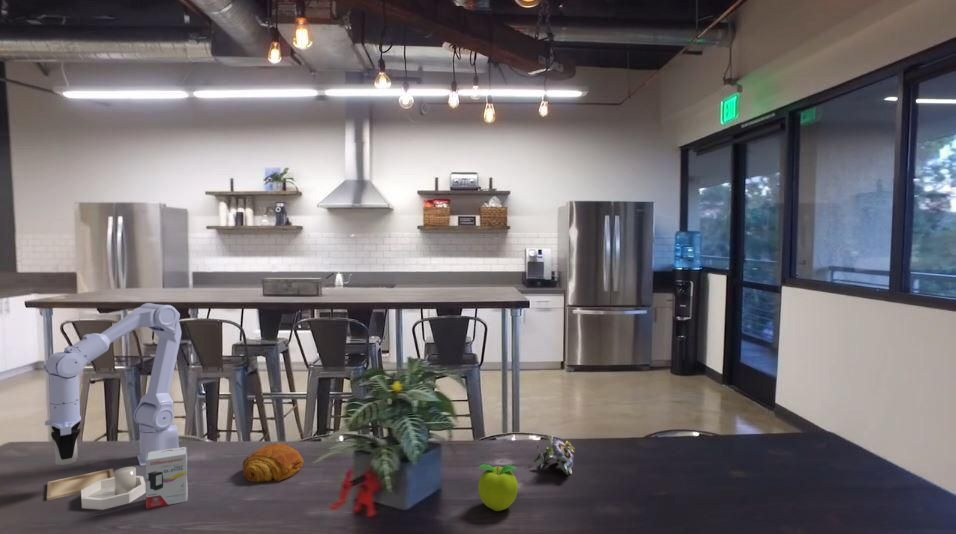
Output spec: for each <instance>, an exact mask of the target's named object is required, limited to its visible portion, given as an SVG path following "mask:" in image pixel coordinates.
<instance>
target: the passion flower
mask: <svg viewBox="0 0 956 534" xmlns="http://www.w3.org/2000/svg"><path fill="white" fill-rule="evenodd" d="M547 439H548V442H549V444H550V448H549V447H546V448H545V450H544V452H542V453H541V452H540V450H539V445H538V444H534V445H535V446H534V447H535V449H536V451H537V452H538V456H536V457H535V458H534V460H533V463H536V462H537V461H539V459H541V464H540V469H539V471H541V470H542V469H543V467H545V466H547V463H548V462H549V461H551V460H554V461H555V463H556V462H557V463H561V465H560V468H561V470H562V471H563V473H564V474H565V475H566V476H568V475H570V474H571V475H572V474H573V471H572V468H573V466H574V461H575V460H574V457H575V456H574V454H577V453H576V448H575V447H574V446H572V443H571V440H570V439H569V440H566V441H565V443H564V442H563V440H561V439H560V438H559V439H558V438H556V437H554V435H551V436H550V435H547ZM571 452H572V453H571ZM573 453H574V454H573Z"/></svg>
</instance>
